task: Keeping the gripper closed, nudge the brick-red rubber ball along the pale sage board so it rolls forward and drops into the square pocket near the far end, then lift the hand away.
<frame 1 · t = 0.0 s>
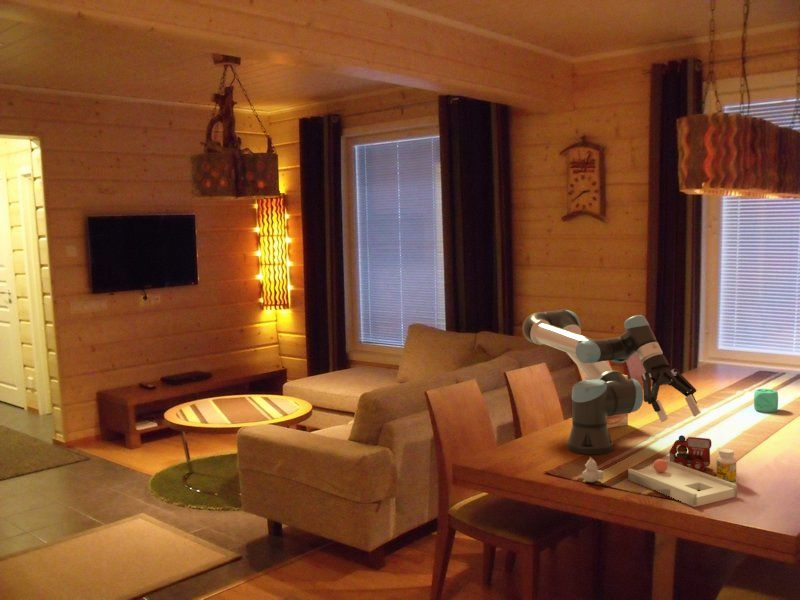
hand: (681, 417, 242), 15 cm above the table, tool tilted 35°, fingers open, 13 cm apart
supplement bottle: (726, 482, 226), on the table
toy fire truck: (690, 469, 240), on the table
rubber duck: (593, 482, 230), on the table
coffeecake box: (607, 426, 294), on the table
board: (680, 488, 222), on the table
decorative dice: (766, 410, 308), on the table
ball: (660, 465, 229), point 4 cm above the table, touching board
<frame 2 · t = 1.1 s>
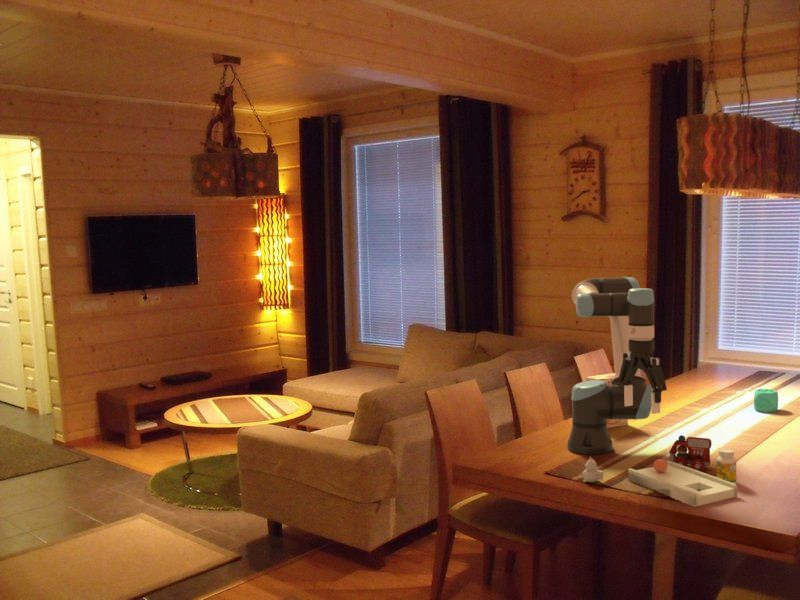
hand: (641, 409, 235), 20 cm above the table, tool pointing down, fingers open, 11 cm apart
nothing on the table moved.
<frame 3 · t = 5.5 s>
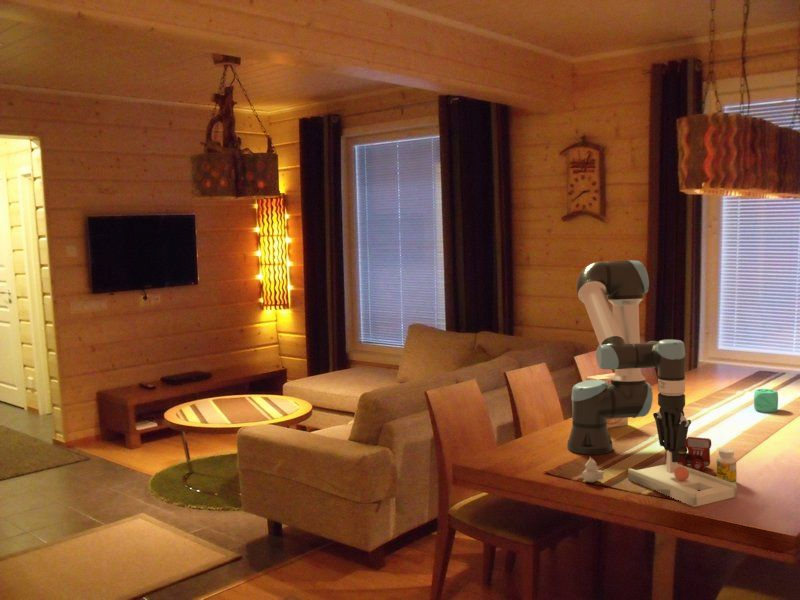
hand: (672, 471, 225), 4 cm above the table, tool pointing down, fingers closed
ball: (681, 473, 221), point 4 cm above the table, tilted 116°, touching board
everything else where it was.
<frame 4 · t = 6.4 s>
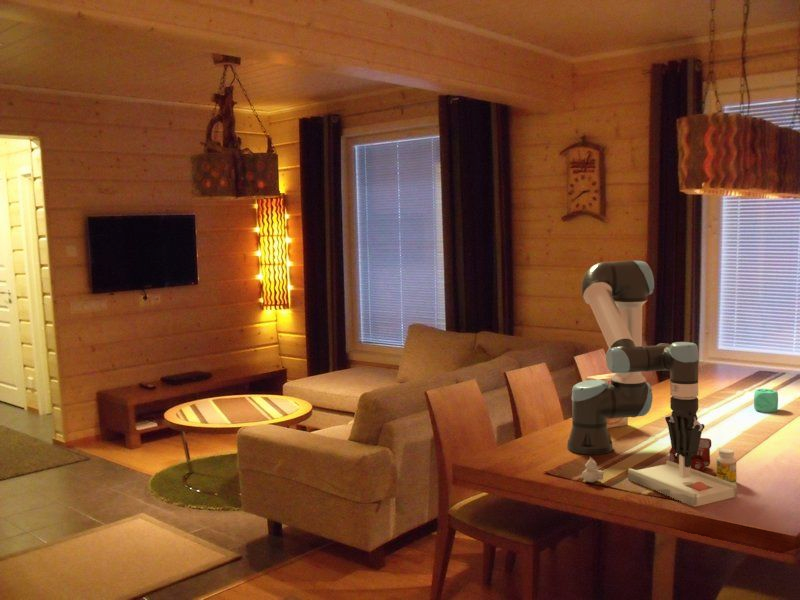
hand: (684, 476, 220), 4 cm above the table, tool pointing down, fingers closed
ball: (699, 489, 215), point 2 cm above the table, tilted 112°
everything else where it was.
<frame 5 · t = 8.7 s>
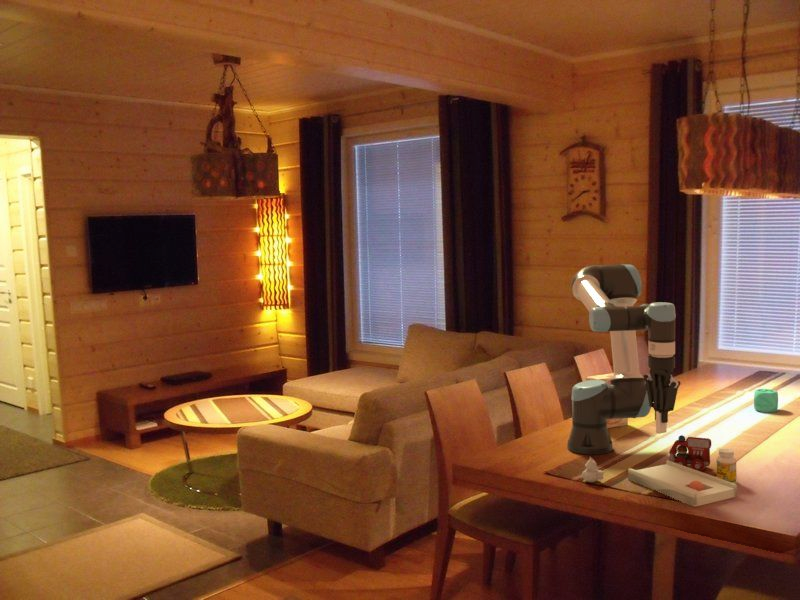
hand: (661, 432, 228), 15 cm above the table, tool pointing down, fingers closed
ball: (696, 487, 216), point 2 cm above the table, tilted 76°
everything else where it was.
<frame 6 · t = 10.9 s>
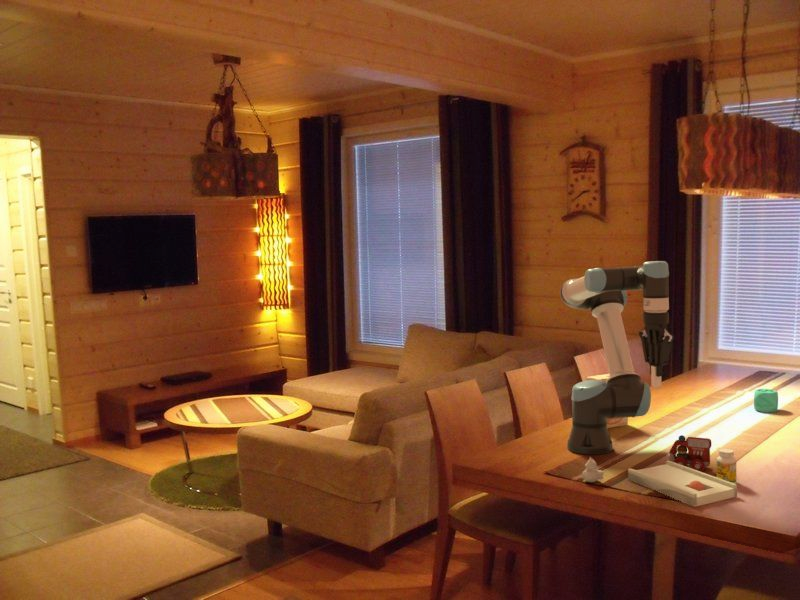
hand: (656, 386, 238), 26 cm above the table, tool pointing down, fingers closed
nothing on the table moved.
at the end: ball 0.8 cm from the target spot on the board, point 2.0 cm above the board's base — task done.
